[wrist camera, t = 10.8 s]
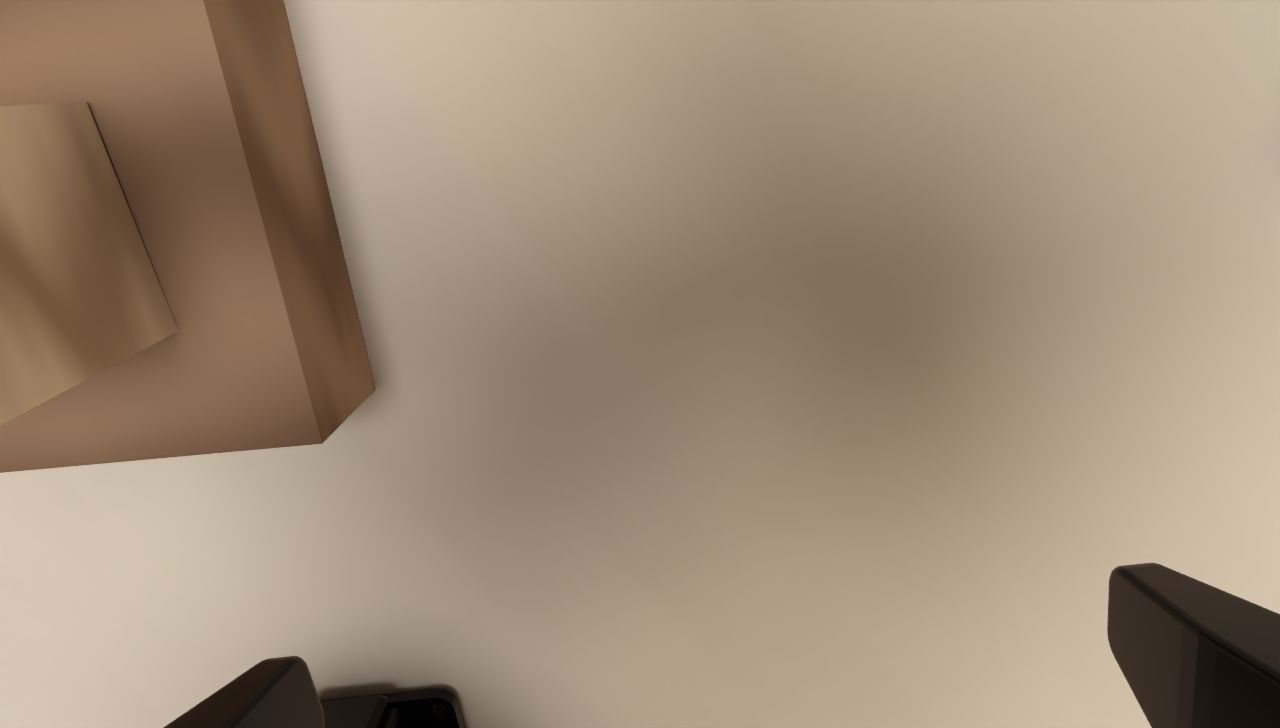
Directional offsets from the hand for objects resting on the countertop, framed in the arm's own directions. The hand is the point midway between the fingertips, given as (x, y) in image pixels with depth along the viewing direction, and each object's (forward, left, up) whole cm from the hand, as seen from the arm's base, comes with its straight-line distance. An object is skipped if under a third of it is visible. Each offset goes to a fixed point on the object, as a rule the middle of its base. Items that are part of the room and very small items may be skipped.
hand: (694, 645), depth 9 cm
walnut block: (+5, +14, -14) cm, 20 cm away
